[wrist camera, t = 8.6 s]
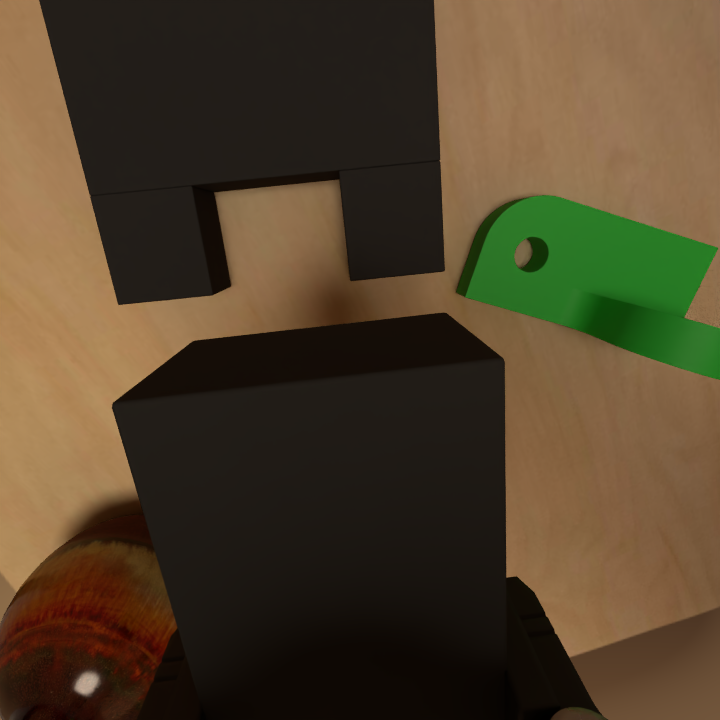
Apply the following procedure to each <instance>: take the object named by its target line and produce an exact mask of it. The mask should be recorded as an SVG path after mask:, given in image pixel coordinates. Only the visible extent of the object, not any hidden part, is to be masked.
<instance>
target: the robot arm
mask: <svg viewBox="0 0 720 720" xmlns="http://www.w3.org/2000/svg"><path fill="white" fill-rule="evenodd" d="M506 618H507V670H506V671H505V720H608V719H606V718H605V717H603V716H602V714H601V713H600V712H599V710H598V709H597V708H596V706H595V705H594V703H593V701H592V700H591V698H590V696H589V694H588V692H587V690H586V689H585V686H584V685H583V683H582V681H581V679H580V677H579V675H578V673H577V671H576V670H575V668H574V666H573V664H572V662H571V660H570V658H569V656H568V655H567V653H566V651H565V649H564V647H563V645H562V643H561V641H560V640H559V638H558V636H557V634H555V632H554V628H553V627H552V625H551V623H550V621H549V619H548V617H546V615H545V612H544V610H543V608H542V606H541V604H540V602H539V600H538V598H537V597H536V595H535V593H534V592H533V591H532V590H531V589H530V588H529V587H528V586H527V585H526V584H524V583H523V582H522V581H521V580H520V579H519V578H518V577H517V576H516V577H508V578H506ZM137 720H206V717H205V714H204V711H203V708H201V705H200V702H199V698H198V695H197V692H196V688H195V685H194V682H193V678H192V675H191V671H190V668H189V665H188V661H187V658H186V655H185V651H184V648H183V645H182V641H181V638H180V634H179V631H178V628H177V629H176V630H175V632H174V633H173V634H172V635H171V637H170V640H169V642H168V644H167V647H166V649H165V652H164V654H163V657H162V662H161V663H160V664H159V666H158V669H157V671H156V674H155V676H154V682H153V683H151V686H150V688H149V691H148V693H147V695H146V698H145V700H144V703H143V705H142V708H141V710H140V712H139V715H138V717H137Z"/></svg>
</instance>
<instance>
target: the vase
mask: <svg viewBox="0 0 720 720" xmlns="http://www.w3.org/2000/svg"><path fill="white" fill-rule="evenodd" d="M176 629H177V624H176V621H175V618H174V614H173V611H172V608H171V604H170V601H169V597H168V594H167V591H166V587H165V584H164V581H163V577H162V574H161V571H160V567H159V564H158V560H157V557H156V554H155V550H154V547H153V544H152V540H151V537H150V534H149V530H148V527H147V523H146V520H145V517H144V515H131V516H125V517H119V518H115V519H111V520H108V521H105V522H102V523H100V524H97V525H95V526H93V527H91V528H89V529H87V530H85V531H83V532H81V533H80V534H78V535H76V536H75V537H73V538H72V539H70V540H69V541H68V542H66V543H65V544H64V545H62V546H61V547H59V548H58V549H57V550H55V551H54V552H53V553H52V554H51V555H49V556H48V557H47V558H46V559H45V560H44V561H43V562H42V563H41V564H40V565H39V566H38V567H37V568H36V569H35V570H34V572H33V573H32V574H31V575H30V576H29V577H28V578H27V579H26V580H25V582H24V583H23V584H22V586H21V587H20V589H19V590H18V592H17V593H16V595H15V596H14V598H13V600H12V602H11V603H10V605H9V607H8V608H7V610H6V612H5V614H4V616H3V618H2V621H1V623H0V716H1V719H2V720H137V717H138V715H139V712H140V710H141V708H142V705H143V703H144V700H145V698H146V695H147V693H148V691H149V688H150V686H151V683H153V682H154V676H155V674H156V671H157V669H158V666H159V664H160V663H161V662H162V657H163V654H164V652H165V649H166V647H167V644H168V642H169V640H170V637H171V635H172V634H173V633H174V632H175V630H176Z"/></svg>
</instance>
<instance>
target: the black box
mask: <svg viewBox="0 0 720 720" xmlns="http://www.w3.org/2000/svg"><path fill="white" fill-rule="evenodd" d="M112 409H113V412H114V416H115V419H116V423H117V426H118V429H119V433H120V436H121V439H122V443H123V446H124V449H125V453H126V456H127V460H128V463H129V466H130V470H131V473H132V476H133V480H134V483H135V486H136V490H137V493H138V497H139V500H140V503H141V507H142V510H143V513H144V517H145V520H146V523H147V527H148V530H149V534H150V537H151V540H152V544H153V547H154V550H155V554H156V557H157V560H158V564H159V567H160V571H161V574H162V577H163V581H164V584H165V587H166V591H167V594H168V597H169V601H170V604H171V608H172V611H173V614H174V618H175V621H176V624H177V628H178V631H179V634H180V638H181V641H182V645H183V648H184V651H185V655H186V658H187V661H188V665H189V668H190V671H191V675H192V678H193V682H194V685H195V688H196V692H197V695H198V698H199V702H200V705H201V708H203V711H204V714H205V717H206V720H505V671H506V670H507V618H506V479H505V361H504V359H503V358H502V357H501V356H500V355H498V354H497V353H496V352H495V351H493V350H492V349H491V348H490V347H488V346H487V345H486V344H485V343H483V342H482V341H481V340H480V339H478V338H477V337H476V336H475V335H473V334H472V333H471V332H470V331H468V330H467V329H466V328H465V327H463V326H462V325H461V324H459V323H458V322H457V321H456V320H454V319H453V318H452V317H451V316H449V315H448V314H447V313H435V314H427V315H418V316H409V317H400V318H391V319H382V320H374V321H365V322H356V323H347V324H338V325H329V326H321V327H312V328H303V329H294V330H285V331H276V332H267V333H259V334H250V335H241V336H232V337H223V338H214V339H206V340H197V341H193V342H191V343H190V344H189V345H187V346H186V347H185V348H184V349H182V350H181V351H180V352H178V353H177V354H176V355H174V356H173V357H172V358H171V359H169V360H168V361H167V362H165V363H164V364H163V365H161V366H160V367H159V368H158V369H156V370H155V371H154V372H152V373H151V374H150V375H149V376H147V377H146V378H145V379H143V380H142V381H141V382H139V383H138V384H137V385H136V386H134V387H133V388H132V389H130V390H129V391H128V392H126V393H125V394H124V395H123V396H121V397H120V398H119V399H117V400H116V401H115V402H113V404H112Z"/></svg>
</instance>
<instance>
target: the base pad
mask: <svg viewBox="0 0 720 720" xmlns="http://www.w3.org/2000/svg"><path fill="white" fill-rule="evenodd" d="M39 1H40V5H41V9H42V13H43V17H44V21H45V24H46V28H47V32H48V36H49V40H50V44H51V47H52V51H53V55H54V59H55V63H56V67H57V71H58V74H59V78H60V82H61V86H62V90H63V94H64V97H65V101H66V105H67V109H68V113H69V117H70V121H71V124H72V128H73V132H74V136H75V140H76V144H77V147H78V151H79V155H80V159H81V163H82V167H83V171H84V174H85V178H86V182H87V186H88V190H89V194H90V198H91V202H92V205H93V209H94V213H95V217H96V221H97V225H98V228H99V232H100V236H101V240H102V244H103V248H104V252H105V255H106V259H107V263H108V267H109V271H110V275H111V278H112V282H113V286H114V290H115V294H116V298H117V302H118V305H123V304H133V303H142V302H152V301H162V300H172V299H181V298H191V297H201V296H211V295H214V294H216V293H218V292H220V291H222V290H224V289H226V288H229V287H231V284H230V278H229V273H228V267H227V262H226V256H225V251H224V245H223V240H222V234H221V229H220V223H219V218H218V212H217V207H216V201H215V196H214V192H219V191H229V190H239V189H249V188H259V187H268V186H278V185H288V184H298V183H307V182H317V181H327V180H337V179H340V188H341V198H342V208H343V217H344V227H345V236H346V246H347V256H348V265H349V275H350V281H356V280H366V279H376V278H386V277H395V276H405V275H415V274H425V273H434V272H443V271H444V270H445V264H444V240H443V215H442V191H441V167H440V161H439V160H440V140H439V116H438V91H437V67H436V42H435V18H434V0H39Z"/></svg>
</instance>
